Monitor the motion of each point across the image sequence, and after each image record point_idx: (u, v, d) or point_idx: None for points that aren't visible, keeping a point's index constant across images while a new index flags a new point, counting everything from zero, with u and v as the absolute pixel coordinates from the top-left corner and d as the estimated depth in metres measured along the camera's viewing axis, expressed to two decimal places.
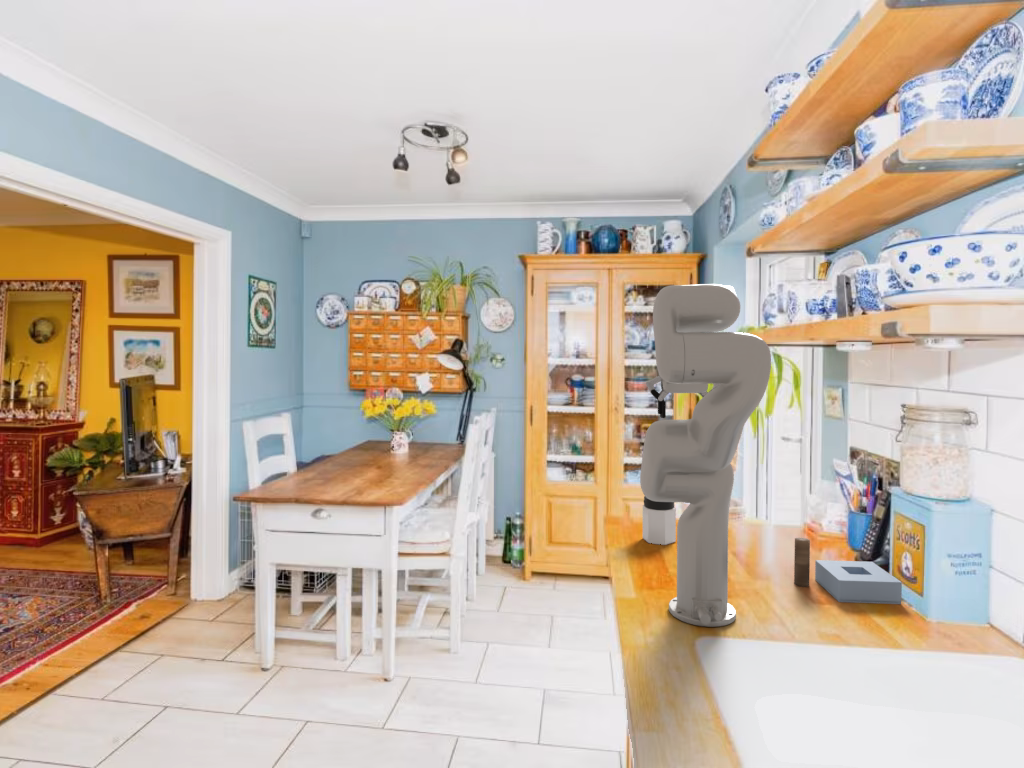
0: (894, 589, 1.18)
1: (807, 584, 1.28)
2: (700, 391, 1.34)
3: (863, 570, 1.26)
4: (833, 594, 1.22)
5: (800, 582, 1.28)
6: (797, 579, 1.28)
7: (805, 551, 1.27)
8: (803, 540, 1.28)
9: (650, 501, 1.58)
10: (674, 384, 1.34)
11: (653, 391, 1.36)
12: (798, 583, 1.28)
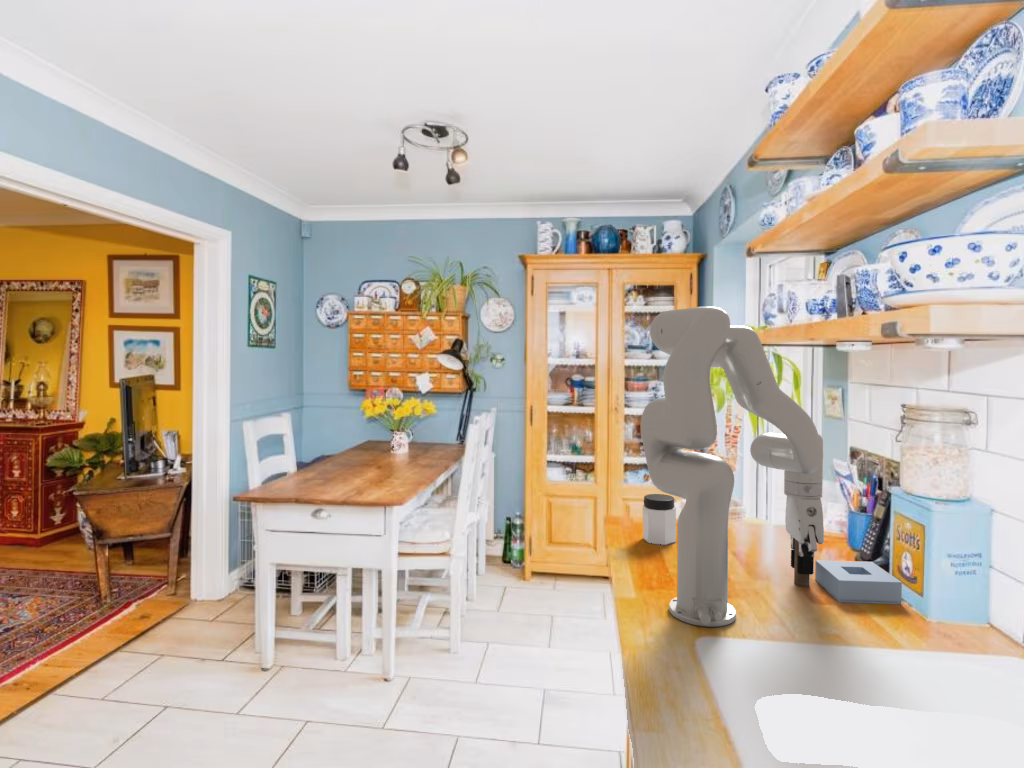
0: (894, 589, 1.18)
1: (807, 584, 1.28)
2: None
3: (863, 570, 1.26)
4: (833, 594, 1.22)
5: (800, 582, 1.28)
6: (797, 579, 1.28)
7: None
8: None
9: (650, 501, 1.58)
10: None
11: None
12: (798, 583, 1.28)
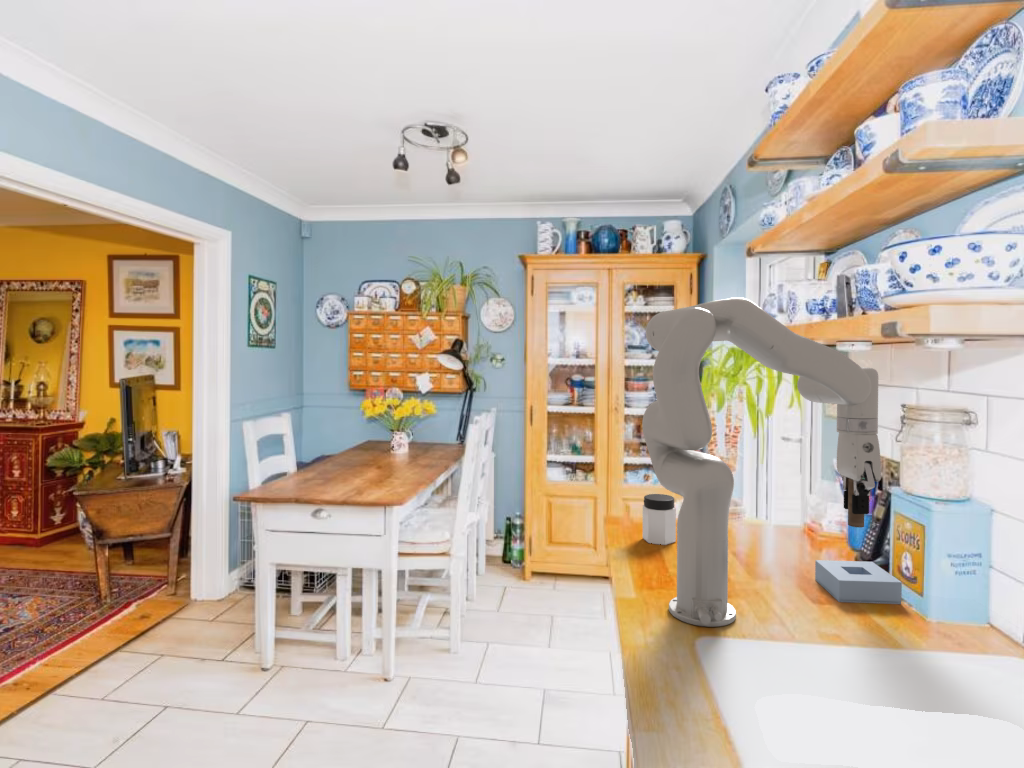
0: (894, 589, 1.18)
1: (862, 524, 1.23)
2: None
3: (863, 570, 1.26)
4: (833, 594, 1.22)
5: (855, 523, 1.23)
6: (851, 520, 1.24)
7: None
8: None
9: (650, 501, 1.58)
10: None
11: None
12: (853, 524, 1.23)
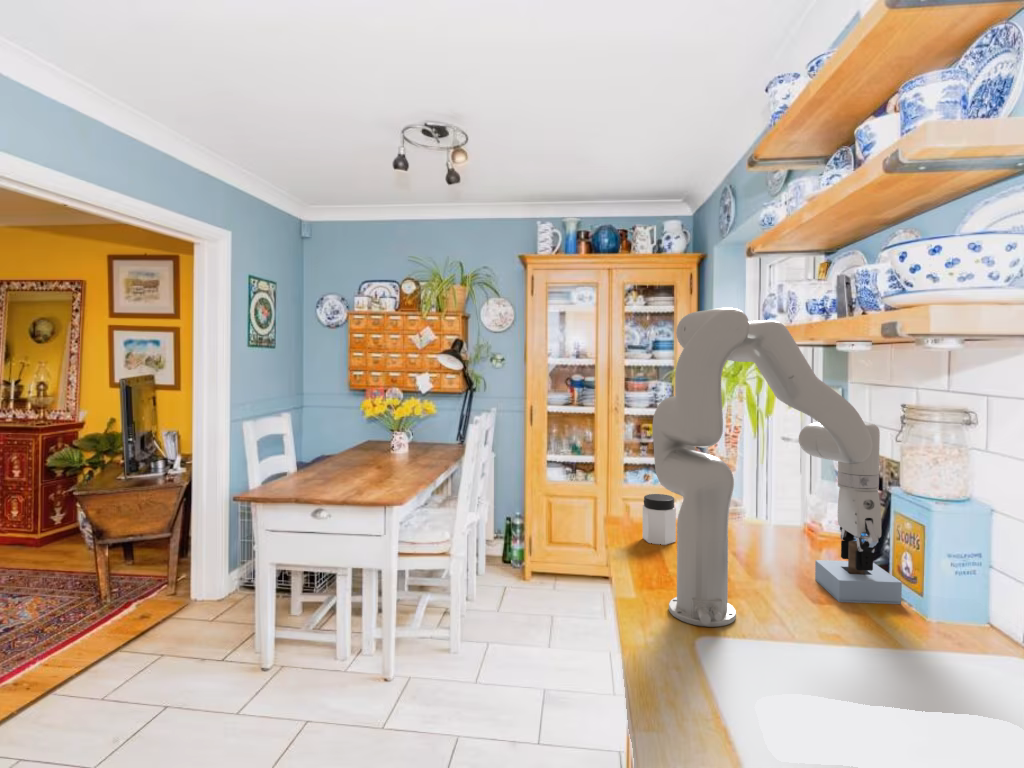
0: (894, 589, 1.18)
1: None
2: None
3: None
4: (833, 594, 1.22)
5: None
6: None
7: None
8: None
9: (650, 501, 1.58)
10: None
11: None
12: None
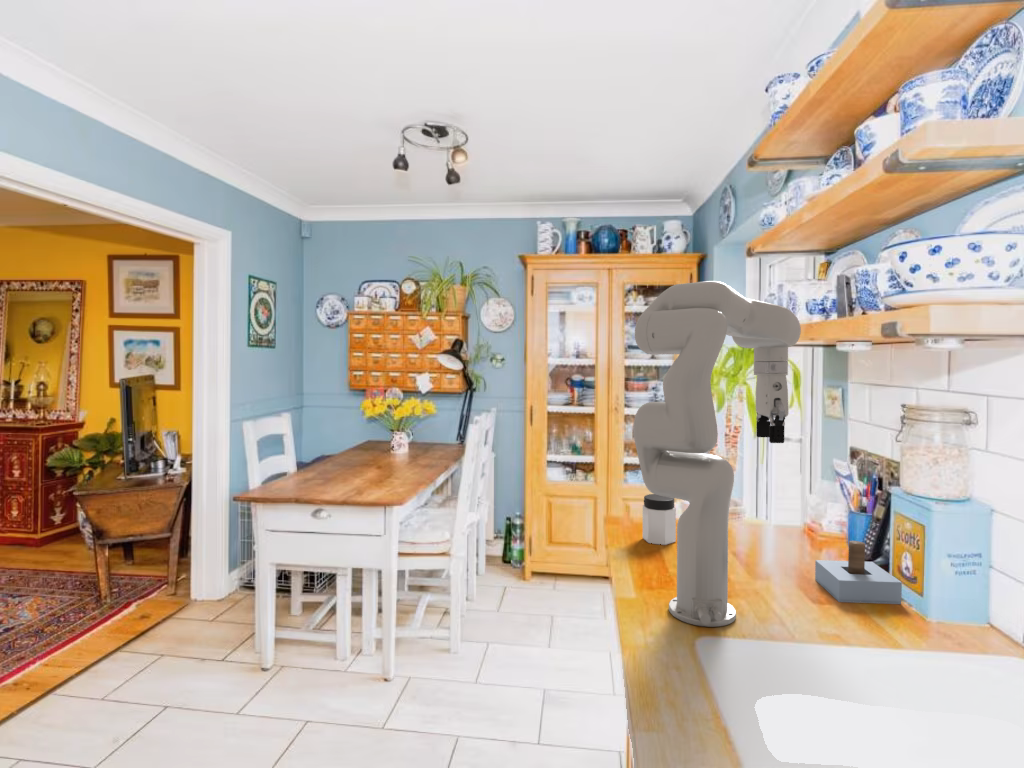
0: (894, 589, 1.18)
1: None
2: None
3: None
4: (833, 594, 1.22)
5: None
6: None
7: (860, 554, 1.23)
8: (858, 543, 1.24)
9: (650, 501, 1.58)
10: None
11: None
12: None
